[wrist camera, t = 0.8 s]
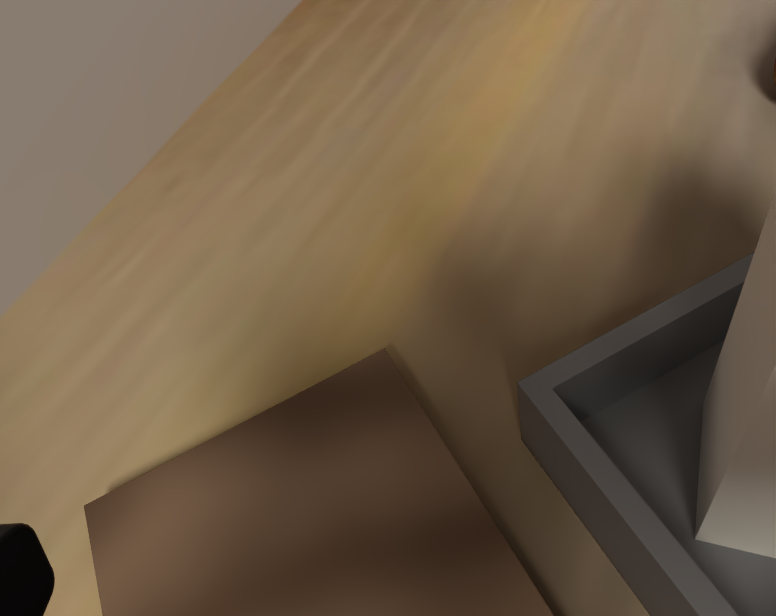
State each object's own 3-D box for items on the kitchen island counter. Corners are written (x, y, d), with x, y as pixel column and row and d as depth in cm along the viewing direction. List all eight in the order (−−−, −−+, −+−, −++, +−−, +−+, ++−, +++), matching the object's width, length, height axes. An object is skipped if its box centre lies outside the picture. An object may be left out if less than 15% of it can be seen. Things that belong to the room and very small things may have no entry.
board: (624, 739, 18) (627, 733, 17) (195, 1022, 17) (174, 1032, 16) (390, 364, 28) (384, 348, 27) (100, 517, 26) (83, 505, 25)
